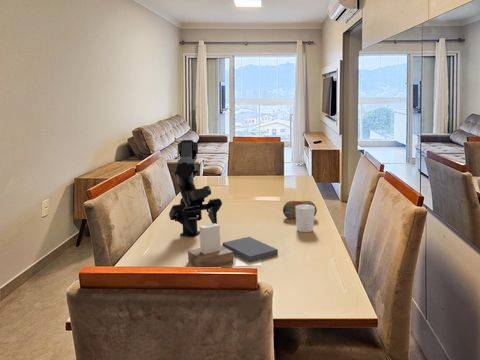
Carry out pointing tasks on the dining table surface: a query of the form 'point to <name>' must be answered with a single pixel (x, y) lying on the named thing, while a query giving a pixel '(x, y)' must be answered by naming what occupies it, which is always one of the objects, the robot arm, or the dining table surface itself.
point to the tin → (290, 208)
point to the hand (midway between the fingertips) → (204, 229)
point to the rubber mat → (250, 249)
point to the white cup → (304, 217)
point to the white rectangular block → (210, 238)
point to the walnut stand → (210, 258)
